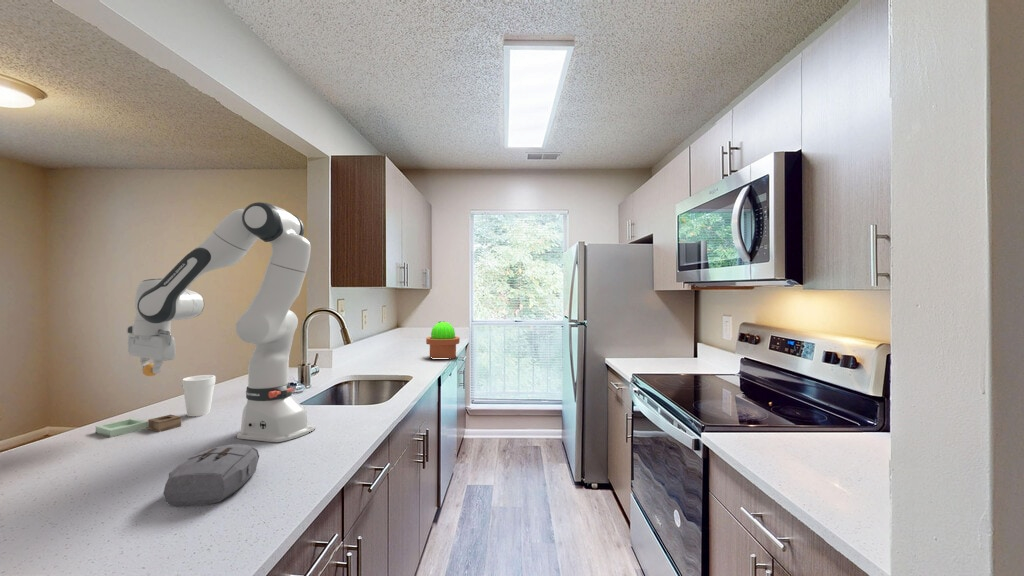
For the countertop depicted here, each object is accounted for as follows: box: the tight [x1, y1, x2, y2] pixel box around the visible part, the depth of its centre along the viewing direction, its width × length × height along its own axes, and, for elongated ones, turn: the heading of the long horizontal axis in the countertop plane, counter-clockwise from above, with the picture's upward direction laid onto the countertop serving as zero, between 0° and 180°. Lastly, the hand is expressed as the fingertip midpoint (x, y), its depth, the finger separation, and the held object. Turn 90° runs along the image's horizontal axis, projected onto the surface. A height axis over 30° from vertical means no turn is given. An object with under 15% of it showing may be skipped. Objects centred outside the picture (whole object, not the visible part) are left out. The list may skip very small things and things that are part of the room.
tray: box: [95, 417, 148, 438], centre depth 126 cm, size 9×9×2 cm
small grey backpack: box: [163, 443, 260, 508], centre depth 91 cm, size 15×8×20 cm
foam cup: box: [181, 374, 216, 417], centre depth 143 cm, size 10×9×13 cm
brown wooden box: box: [147, 414, 182, 433], centre depth 128 cm, size 6×6×3 cm
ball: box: [142, 363, 158, 377], centre depth 128 cm, size 4×4×4 cm
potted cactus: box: [425, 321, 460, 360], centre depth 267 cm, size 22×22×25 cm
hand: (150, 372), depth 128 cm, fingers closed on ball, 4 cm apart
